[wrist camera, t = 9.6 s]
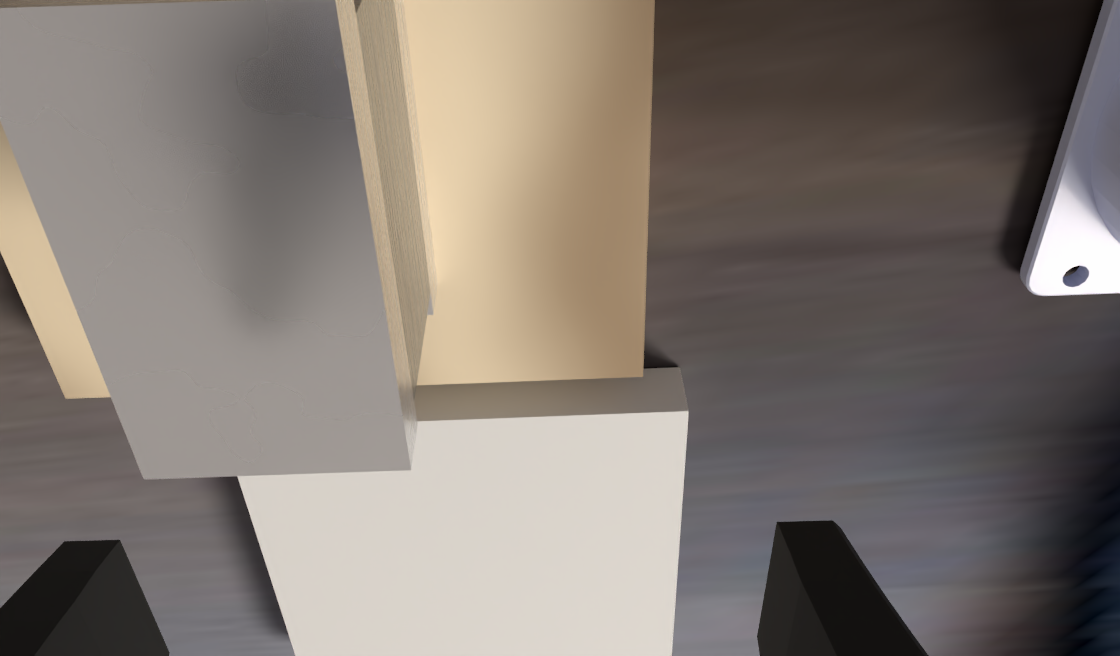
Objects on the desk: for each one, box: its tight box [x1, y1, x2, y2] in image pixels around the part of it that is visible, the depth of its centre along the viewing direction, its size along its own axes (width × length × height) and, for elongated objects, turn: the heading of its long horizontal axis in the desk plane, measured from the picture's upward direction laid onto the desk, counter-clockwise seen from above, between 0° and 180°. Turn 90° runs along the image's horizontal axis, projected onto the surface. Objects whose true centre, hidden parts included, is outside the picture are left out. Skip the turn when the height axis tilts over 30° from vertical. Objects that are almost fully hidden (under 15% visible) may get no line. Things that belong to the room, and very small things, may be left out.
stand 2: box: [237, 367, 689, 656], centre depth 24 cm, size 10×10×2 cm
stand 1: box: [0, 0, 655, 399], centre depth 17 cm, size 12×12×2 cm
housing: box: [0, 0, 438, 479], centre depth 14 cm, size 7×4×5 cm, turn 1°
